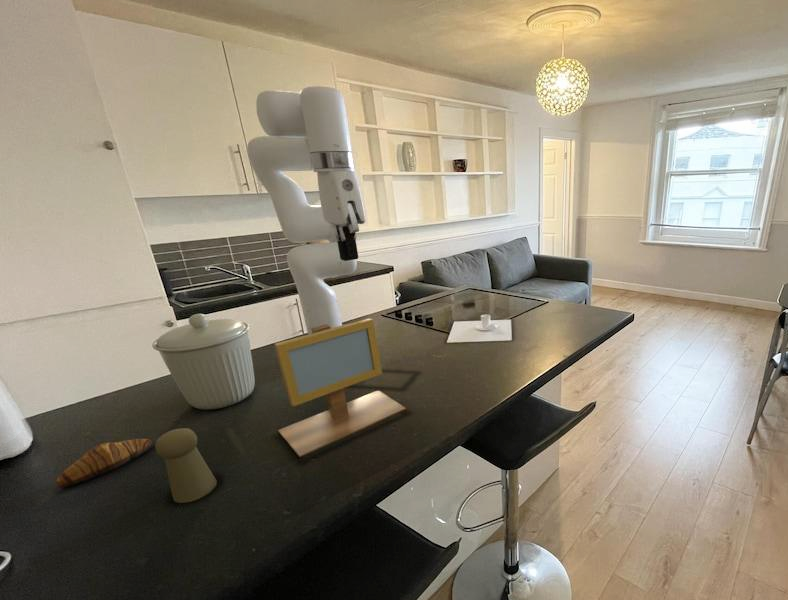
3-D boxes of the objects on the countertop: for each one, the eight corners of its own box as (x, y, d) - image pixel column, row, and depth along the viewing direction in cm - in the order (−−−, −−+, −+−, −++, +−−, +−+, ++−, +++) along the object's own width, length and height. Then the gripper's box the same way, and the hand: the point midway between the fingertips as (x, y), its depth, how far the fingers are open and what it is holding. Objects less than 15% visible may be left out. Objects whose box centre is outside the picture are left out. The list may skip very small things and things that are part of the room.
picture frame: (290, 404, 75) (274, 343, 70) (378, 371, 86) (369, 317, 82) (292, 406, 74) (276, 345, 69) (382, 373, 85) (373, 319, 81)
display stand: (279, 436, 81) (251, 338, 74) (379, 395, 95) (364, 309, 87) (301, 462, 73) (271, 355, 65) (407, 414, 87) (393, 321, 79)
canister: (159, 412, 92) (123, 324, 84) (232, 377, 108) (207, 300, 100) (215, 425, 86) (182, 331, 78) (284, 386, 102) (262, 305, 94)
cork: (187, 479, 70) (165, 424, 66) (224, 475, 71) (204, 421, 67) (164, 504, 65) (138, 446, 61) (203, 501, 65) (180, 443, 61)
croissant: (68, 497, 67) (54, 473, 65) (53, 484, 70) (40, 461, 69) (162, 451, 78) (153, 429, 76) (146, 442, 81) (136, 421, 79)
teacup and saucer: (498, 331, 132) (497, 319, 130) (473, 332, 132) (472, 320, 130) (498, 323, 140) (498, 311, 138) (475, 323, 140) (474, 312, 139)
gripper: (370, 162, 75) (383, 261, 82) (336, 164, 85) (351, 252, 92) (329, 162, 70) (348, 267, 78) (299, 164, 80) (317, 257, 88)
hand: (349, 259), depth 85 cm, fingers closed
